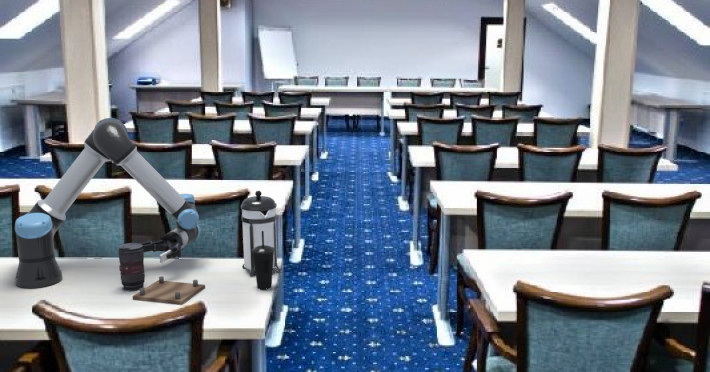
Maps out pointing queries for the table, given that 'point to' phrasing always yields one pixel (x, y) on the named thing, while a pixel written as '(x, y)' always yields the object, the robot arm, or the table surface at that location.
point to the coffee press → (258, 227)
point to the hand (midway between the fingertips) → (143, 257)
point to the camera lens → (131, 266)
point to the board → (169, 291)
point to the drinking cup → (263, 265)
